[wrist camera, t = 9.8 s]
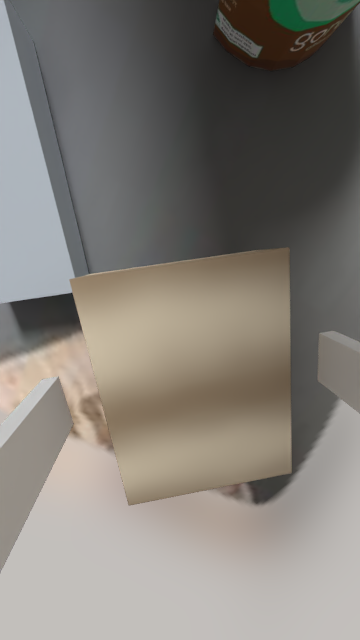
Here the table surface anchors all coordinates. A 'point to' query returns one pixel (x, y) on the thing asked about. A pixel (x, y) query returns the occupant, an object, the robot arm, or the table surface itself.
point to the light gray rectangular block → (31, 178)
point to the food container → (278, 29)
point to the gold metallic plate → (193, 369)
